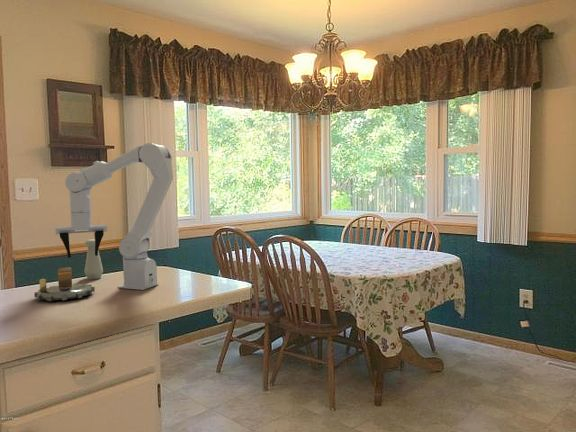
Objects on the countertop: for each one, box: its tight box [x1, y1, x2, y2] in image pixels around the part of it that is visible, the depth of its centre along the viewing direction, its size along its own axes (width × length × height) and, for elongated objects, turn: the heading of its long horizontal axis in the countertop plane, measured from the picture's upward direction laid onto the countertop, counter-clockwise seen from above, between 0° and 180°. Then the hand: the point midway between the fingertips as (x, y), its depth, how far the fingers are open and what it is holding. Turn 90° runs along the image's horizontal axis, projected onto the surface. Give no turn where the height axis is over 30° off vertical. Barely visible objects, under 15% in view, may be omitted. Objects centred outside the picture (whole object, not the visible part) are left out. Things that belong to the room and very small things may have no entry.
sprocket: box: [34, 278, 96, 302], centre depth 138 cm, size 15×15×5 cm
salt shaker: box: [83, 238, 104, 280], centre depth 163 cm, size 6×6×13 cm
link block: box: [57, 267, 73, 288], centre depth 142 cm, size 5×4×5 cm
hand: (83, 256), depth 151 cm, fingers open, 7 cm apart
